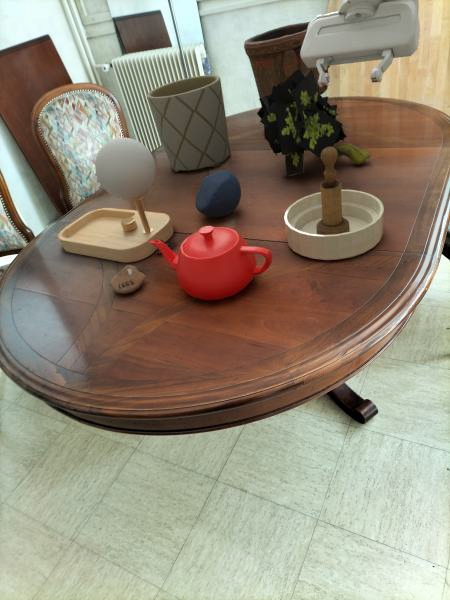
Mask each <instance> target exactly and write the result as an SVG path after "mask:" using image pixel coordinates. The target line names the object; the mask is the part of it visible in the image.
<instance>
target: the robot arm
mask: <svg viewBox="0 0 450 600" xmlns="http://www.w3.org/2000/svg"><path fill="white" fill-rule="evenodd" d="M419 10H420V2H419V0H340V4H339V9H338V11H334V12H329V13H325V14H324V13H323V14H318V15H317V16H316V17H314V18H313V19H312V20H311V21H309V22H310V23H309V25H308V28H307V33H306V36H305V39H304V42H303V45H302V48H301V52H300V56H301V58H302V60H303V62H304V64H305V65H306V66H307V67H308V68H313V67H317V69H318V72H319V74H320V75H319V80H318V84H319V86H320V87H329V86H330V84H329V83H330V82H331V77H330V75H329V76H328V73H329V72H328V73H324V71H325V70H327V66H330V67H331V66H337V65H346V64H357V63H365V62H372V61H379V60H381V61H380V62H379V64H378V65H377V67H375V66H374V67H372V68H371V74H370V81H371V83H382V80H383V77H384V76H383V75H384V73H385V72H386V71H387V70H388V69H389V68H390V66H392V64H393V61H394V59H396V58H397V59H399V58H407V57H411V56H413V55H414V54H415V53H416V51H417V50H418V47H419V43H420V36H421V32H420V31H421V25H420V18H419V13H420V11H419Z"/></svg>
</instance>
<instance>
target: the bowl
mask: <svg viewBox="0 0 450 600" xmlns="http://www.w3.org/2000/svg"><path fill="white" fill-rule="evenodd" d="M341 196H342V217H344V218H345V219H347V220H348V221H349V227H350V232H346V233H341V234H332V235H318V234H317V230H316V226H317V223H318V222H319V221H320V220H321V219H322V202H321V191H319V192H314V193H312V194H309V195H306V196H303V197H301V198H299V199H297V200H296V201H294V202H293V203H292V204H290V205H289V206H288V207H287V209H286V210H285V211H284V216H283V221H284V231H285V237H286V242H287V245H288V247H289V248H290V249H291V250H292V251H293V252H294V253H296V254H298V255H299V256H303V257H306V258H309V259H315V260H323V261H332V260H333V261H334V260H343V259H347V258H354V257H356V256H359V255H362V254H365V253H366V252H367V251H370V250H371V249H373V248H374V247H375V246H377V244H379V243H380V242H381V239H382V238H383V235H384V220H385V219H384V217H385V208H384V207H385V206H384V204H383V202H382V201H381V200H380V198H378V197H376V196H375V195H374V194H371V193H368V192H366V191H361V190H355V189H341Z"/></svg>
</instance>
